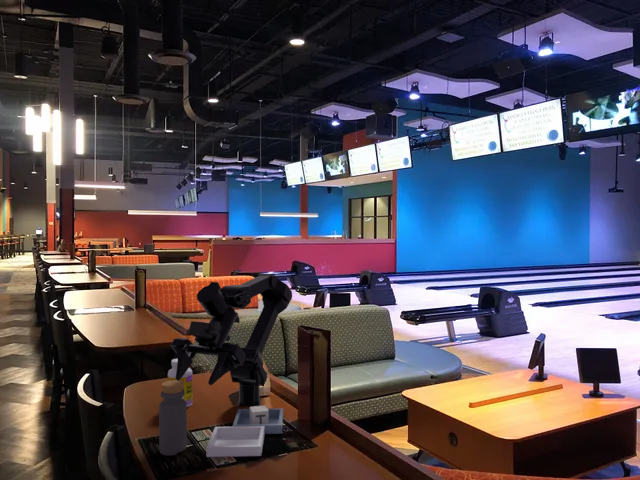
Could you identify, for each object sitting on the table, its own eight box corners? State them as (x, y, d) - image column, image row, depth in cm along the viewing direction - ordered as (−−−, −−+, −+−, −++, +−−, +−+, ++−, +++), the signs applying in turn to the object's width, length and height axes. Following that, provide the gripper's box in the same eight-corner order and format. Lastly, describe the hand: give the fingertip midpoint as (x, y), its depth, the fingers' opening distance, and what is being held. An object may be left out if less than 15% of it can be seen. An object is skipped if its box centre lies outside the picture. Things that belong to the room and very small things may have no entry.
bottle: (179, 456, 112) (178, 387, 112) (154, 454, 114) (153, 386, 113) (191, 445, 118) (190, 380, 118) (167, 443, 119) (167, 378, 119)
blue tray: (238, 418, 135) (238, 409, 135) (283, 417, 136) (283, 408, 136) (232, 436, 124) (232, 425, 124) (281, 435, 124) (281, 425, 124)
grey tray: (215, 437, 123) (215, 426, 123) (264, 436, 123) (264, 426, 123) (206, 459, 111) (206, 447, 111) (261, 458, 112) (260, 446, 112)
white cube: (249, 422, 131) (249, 406, 131) (265, 421, 132) (265, 405, 132) (252, 428, 127) (252, 412, 127) (268, 426, 128) (268, 410, 128)
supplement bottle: (188, 410, 141) (188, 363, 141) (164, 410, 141) (164, 363, 141) (195, 402, 148) (195, 357, 148) (172, 402, 148) (171, 357, 148)
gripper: (175, 305, 131) (144, 359, 121) (239, 310, 123) (212, 368, 113) (194, 331, 138) (167, 384, 128) (256, 337, 131) (232, 393, 121)
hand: (193, 382), depth 122 cm, fingers open, 9 cm apart
